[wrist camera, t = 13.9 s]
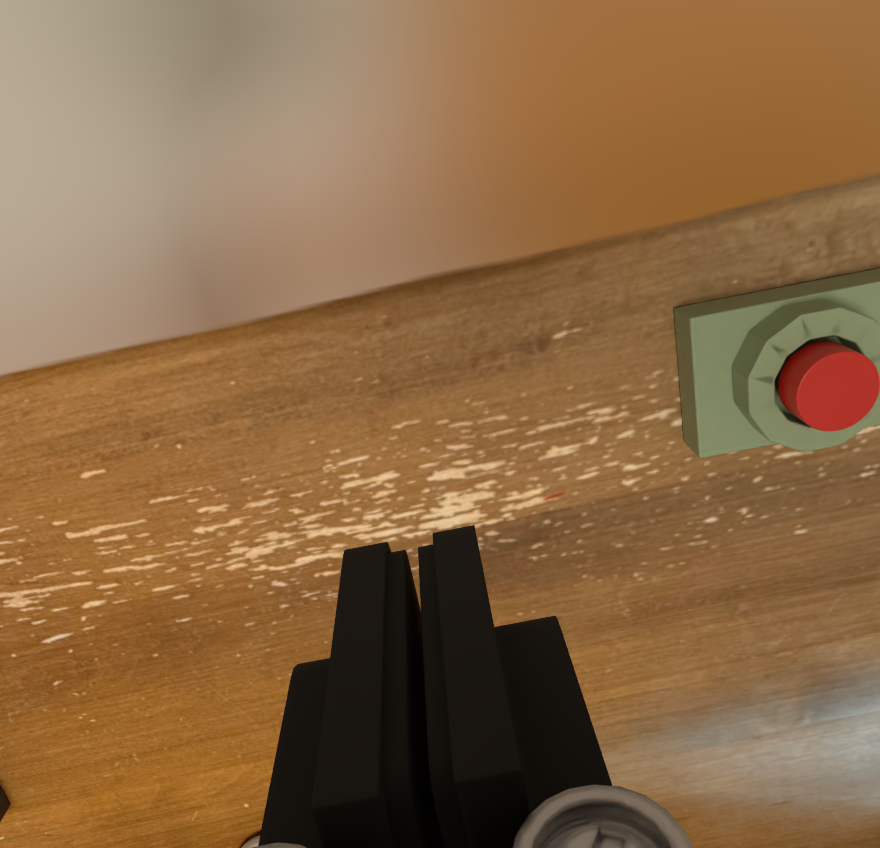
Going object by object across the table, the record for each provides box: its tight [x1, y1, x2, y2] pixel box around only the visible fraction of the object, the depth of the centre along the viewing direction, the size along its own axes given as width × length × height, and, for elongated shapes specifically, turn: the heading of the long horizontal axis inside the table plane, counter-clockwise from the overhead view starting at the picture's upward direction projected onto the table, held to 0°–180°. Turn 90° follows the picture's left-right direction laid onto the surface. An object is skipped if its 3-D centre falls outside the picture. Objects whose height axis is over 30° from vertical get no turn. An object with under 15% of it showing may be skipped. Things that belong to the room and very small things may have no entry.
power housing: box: [674, 268, 880, 458], centre depth 36 cm, size 7×10×4 cm
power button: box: [778, 341, 880, 431], centre depth 33 cm, size 4×4×2 cm
